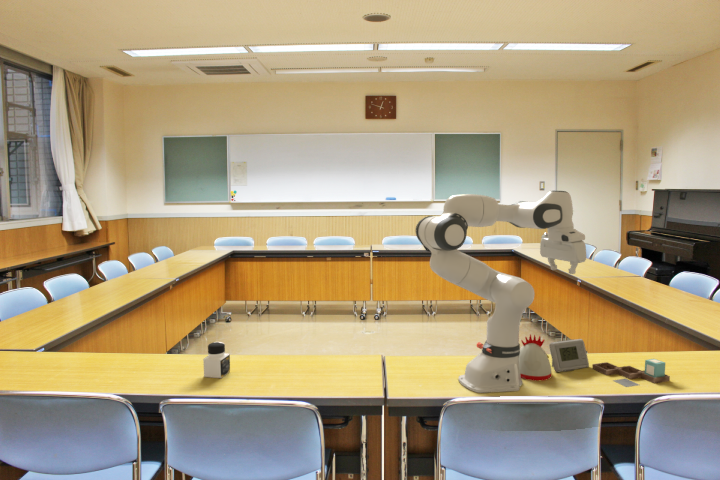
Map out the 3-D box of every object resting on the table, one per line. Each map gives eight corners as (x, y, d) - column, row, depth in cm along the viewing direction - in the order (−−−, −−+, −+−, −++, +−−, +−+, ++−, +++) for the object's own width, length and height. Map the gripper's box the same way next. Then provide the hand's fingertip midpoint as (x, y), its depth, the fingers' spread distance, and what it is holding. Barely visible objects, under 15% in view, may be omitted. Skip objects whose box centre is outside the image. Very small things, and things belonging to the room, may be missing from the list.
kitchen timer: (552, 382, 167) (553, 341, 165) (511, 378, 171) (512, 338, 170) (550, 369, 180) (551, 331, 178) (512, 365, 184) (513, 328, 183)
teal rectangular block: (655, 381, 166) (656, 363, 165) (644, 377, 170) (645, 359, 169) (664, 380, 167) (665, 362, 167) (653, 375, 171) (654, 358, 171)
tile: (626, 388, 162) (626, 387, 161) (612, 381, 167) (612, 380, 167) (639, 385, 163) (639, 384, 163) (625, 379, 169) (625, 378, 169)
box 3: (654, 384, 165) (654, 378, 164) (637, 377, 171) (637, 371, 171) (669, 382, 167) (669, 376, 166) (652, 375, 173) (652, 369, 173)
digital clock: (554, 373, 175) (555, 346, 174) (542, 365, 184) (543, 338, 183) (594, 371, 177) (596, 344, 176) (580, 363, 186) (581, 337, 185)
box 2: (630, 380, 168) (630, 374, 168) (614, 373, 175) (614, 367, 175) (645, 378, 170) (645, 372, 170) (628, 371, 177) (629, 365, 177)
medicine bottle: (221, 378, 171) (220, 346, 170) (203, 377, 173) (202, 345, 172) (230, 371, 178) (229, 340, 177) (213, 370, 180) (212, 339, 179)
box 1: (606, 376, 172) (607, 370, 172) (592, 369, 179) (592, 364, 179) (621, 374, 174) (622, 368, 174) (606, 367, 181) (607, 362, 181)
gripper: (534, 233, 179) (537, 268, 181) (573, 238, 160) (575, 277, 161) (548, 231, 181) (550, 266, 183) (588, 235, 161) (590, 274, 163)
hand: (562, 271), depth 172 cm, fingers open, 8 cm apart
